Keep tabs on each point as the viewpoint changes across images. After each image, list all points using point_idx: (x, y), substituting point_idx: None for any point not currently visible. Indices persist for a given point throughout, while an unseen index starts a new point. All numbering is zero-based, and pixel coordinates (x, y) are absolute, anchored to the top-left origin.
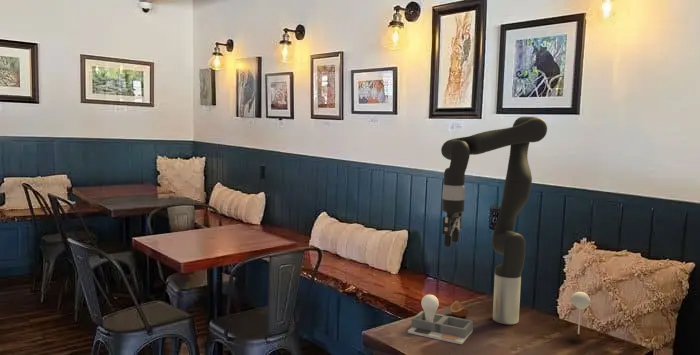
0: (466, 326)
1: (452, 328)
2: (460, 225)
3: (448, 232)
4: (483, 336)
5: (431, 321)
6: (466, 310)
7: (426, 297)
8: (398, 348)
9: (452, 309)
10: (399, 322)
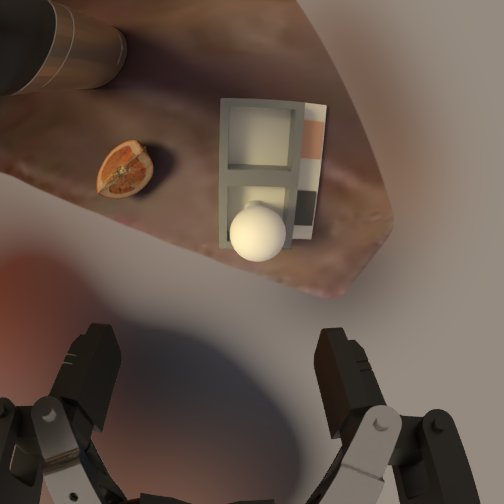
0: (278, 104)
1: (301, 138)
2: (8, 437)
3: (451, 432)
4: (243, 65)
5: (260, 204)
6: (140, 144)
7: (274, 251)
8: (392, 225)
9: (137, 186)
10: (256, 272)
